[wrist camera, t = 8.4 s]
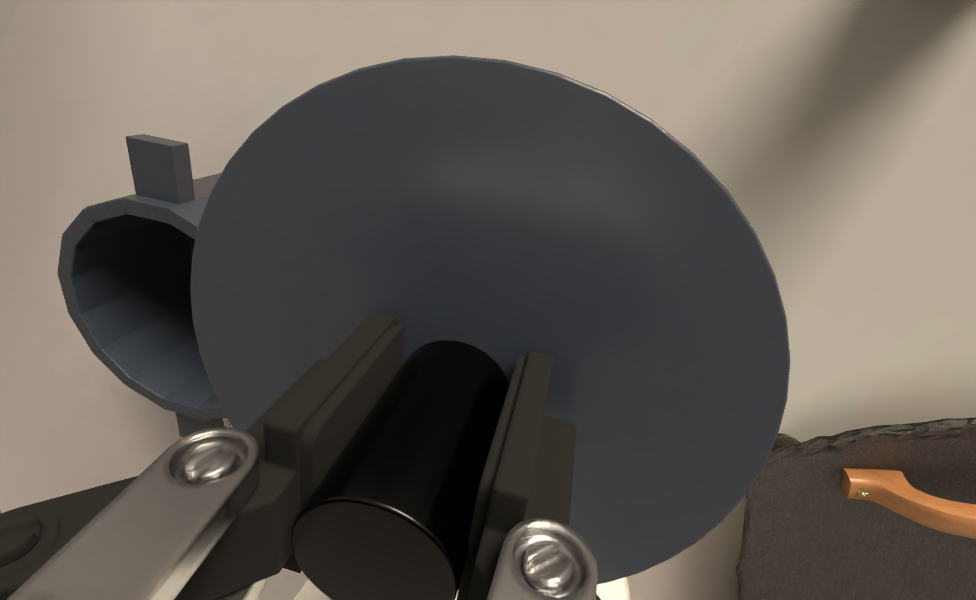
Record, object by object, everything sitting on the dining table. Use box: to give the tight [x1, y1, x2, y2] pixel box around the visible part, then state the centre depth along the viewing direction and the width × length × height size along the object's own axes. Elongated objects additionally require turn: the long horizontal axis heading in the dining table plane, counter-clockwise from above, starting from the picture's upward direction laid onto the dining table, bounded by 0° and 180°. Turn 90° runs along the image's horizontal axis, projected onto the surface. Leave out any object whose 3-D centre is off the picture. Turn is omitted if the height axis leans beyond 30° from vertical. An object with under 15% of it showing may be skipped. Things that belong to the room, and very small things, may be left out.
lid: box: [190, 56, 790, 600], centre depth 9 cm, size 14×14×6 cm
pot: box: [58, 134, 226, 437], centre depth 29 cm, size 13×18×8 cm
